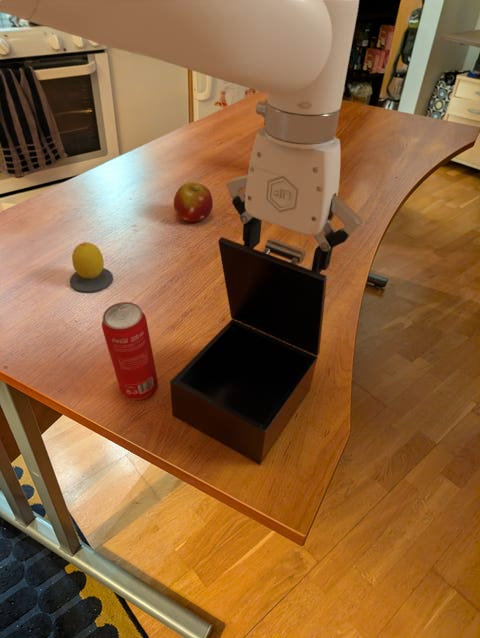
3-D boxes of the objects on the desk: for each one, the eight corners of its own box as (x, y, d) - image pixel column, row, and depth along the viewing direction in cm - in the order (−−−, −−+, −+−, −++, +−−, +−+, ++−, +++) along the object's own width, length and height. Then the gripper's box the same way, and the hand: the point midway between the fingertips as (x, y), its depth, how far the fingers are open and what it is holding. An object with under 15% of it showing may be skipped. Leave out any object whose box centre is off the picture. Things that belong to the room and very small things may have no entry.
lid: (324, 280, 53) (342, 251, 55) (217, 240, 58) (239, 216, 60) (317, 356, 66) (332, 330, 68) (231, 318, 71) (247, 295, 74)
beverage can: (164, 380, 71) (158, 305, 61) (140, 410, 66) (129, 334, 57) (132, 367, 73) (121, 291, 63) (107, 395, 68) (90, 319, 58)
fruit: (206, 230, 106) (206, 198, 101) (168, 224, 107) (167, 192, 102) (216, 211, 113) (217, 180, 108) (181, 206, 114) (180, 175, 109)
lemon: (71, 284, 87) (63, 248, 82) (83, 268, 91) (76, 233, 86) (99, 289, 86) (92, 252, 81) (110, 272, 91) (105, 237, 85)
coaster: (91, 298, 85) (91, 296, 85) (61, 283, 88) (60, 281, 88) (121, 277, 90) (121, 275, 90) (91, 264, 93) (91, 262, 93)
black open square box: (260, 465, 61) (265, 432, 56) (172, 415, 66) (169, 381, 61) (310, 389, 71) (317, 356, 66) (230, 351, 76) (232, 318, 72)
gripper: (213, 114, 49) (212, 250, 60) (367, 153, 43) (334, 297, 54) (248, 98, 54) (242, 227, 65) (392, 131, 48) (357, 267, 59)
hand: (283, 259), depth 60 cm, fingers open, 9 cm apart
